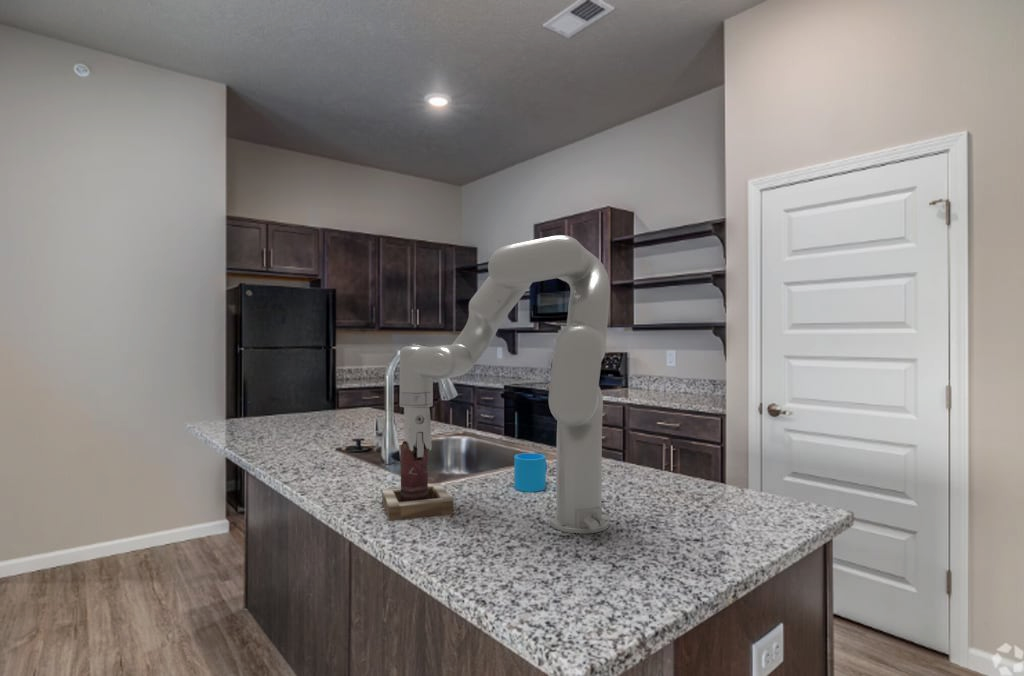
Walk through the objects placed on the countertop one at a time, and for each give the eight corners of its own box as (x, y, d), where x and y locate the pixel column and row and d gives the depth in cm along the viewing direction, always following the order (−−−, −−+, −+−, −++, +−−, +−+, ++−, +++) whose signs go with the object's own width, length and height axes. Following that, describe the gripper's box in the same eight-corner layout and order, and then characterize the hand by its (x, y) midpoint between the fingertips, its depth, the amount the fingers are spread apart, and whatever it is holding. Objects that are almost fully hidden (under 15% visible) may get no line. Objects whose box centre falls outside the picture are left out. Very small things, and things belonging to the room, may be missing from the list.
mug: (534, 493, 138) (534, 461, 138) (508, 488, 143) (508, 457, 143) (558, 483, 148) (558, 452, 148) (533, 478, 152) (533, 449, 152)
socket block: (453, 514, 122) (453, 499, 122) (389, 521, 117) (388, 506, 117) (440, 497, 135) (440, 483, 135) (382, 503, 130) (382, 489, 130)
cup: (430, 498, 129) (431, 439, 129) (423, 506, 123) (423, 444, 123) (405, 497, 130) (405, 438, 130) (397, 505, 124) (397, 443, 124)
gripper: (438, 402, 120) (438, 486, 120) (426, 395, 134) (426, 470, 134) (404, 404, 117) (404, 489, 118) (395, 396, 132) (395, 473, 132)
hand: (416, 479), depth 126 cm, fingers closed, pressing on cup
